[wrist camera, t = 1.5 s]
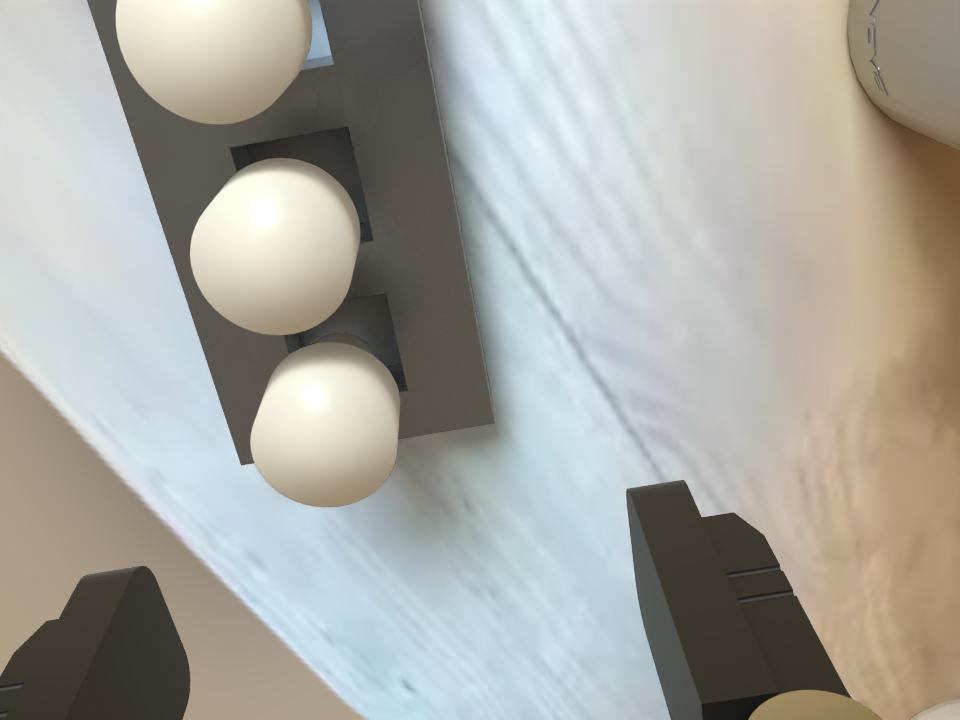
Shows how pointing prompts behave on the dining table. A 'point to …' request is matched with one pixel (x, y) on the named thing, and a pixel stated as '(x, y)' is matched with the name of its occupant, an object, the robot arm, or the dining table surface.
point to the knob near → (214, 53)
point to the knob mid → (277, 247)
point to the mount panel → (383, 241)
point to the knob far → (328, 423)
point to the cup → (941, 712)
